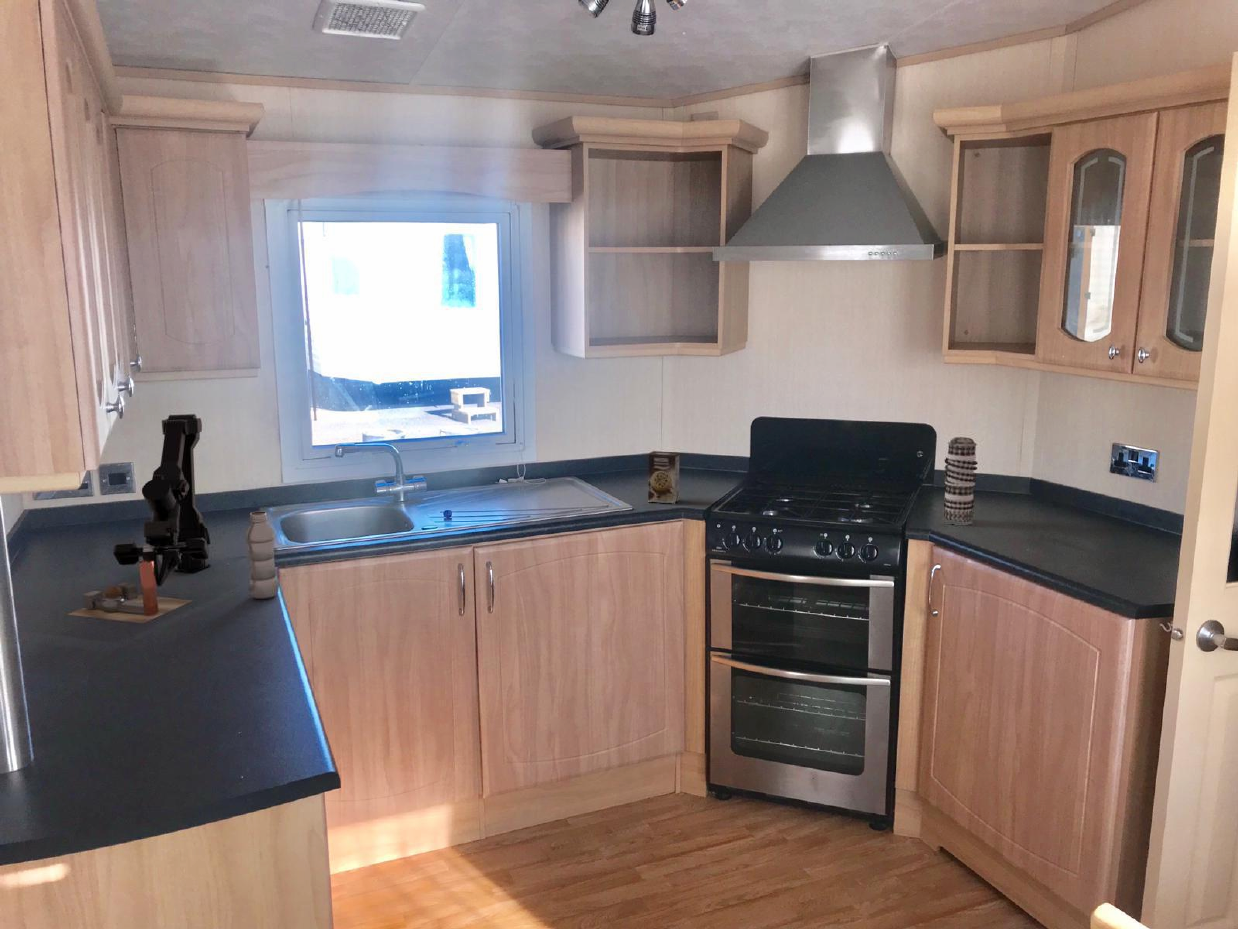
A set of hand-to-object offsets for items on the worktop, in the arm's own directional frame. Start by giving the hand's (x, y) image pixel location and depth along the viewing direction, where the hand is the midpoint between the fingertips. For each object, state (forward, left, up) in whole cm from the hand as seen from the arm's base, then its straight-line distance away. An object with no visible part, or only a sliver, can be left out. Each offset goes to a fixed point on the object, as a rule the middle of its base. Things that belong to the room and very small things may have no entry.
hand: (158, 585), depth 215 cm
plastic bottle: (-16, +14, -7) cm, 23 cm away
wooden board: (+1, -8, -7) cm, 10 cm away
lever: (+3, -7, -5) cm, 10 cm away
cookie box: (-133, +79, -7) cm, 155 cm away
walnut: (-2, -14, -6) cm, 15 cm away
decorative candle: (-130, +169, -7) cm, 214 cm away
